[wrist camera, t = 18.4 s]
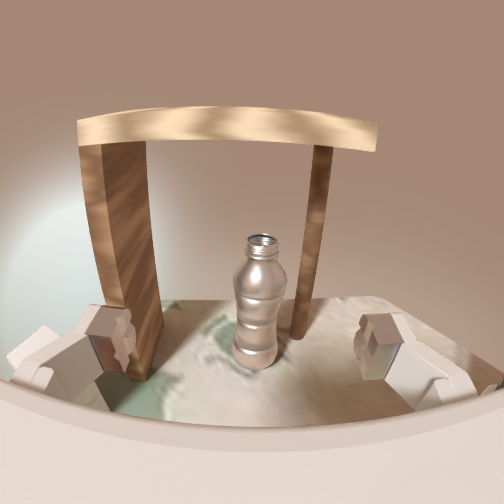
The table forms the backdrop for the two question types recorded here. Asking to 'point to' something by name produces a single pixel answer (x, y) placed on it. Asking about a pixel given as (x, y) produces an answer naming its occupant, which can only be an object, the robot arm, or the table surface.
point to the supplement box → (41, 339)
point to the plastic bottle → (258, 302)
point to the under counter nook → (137, 200)
